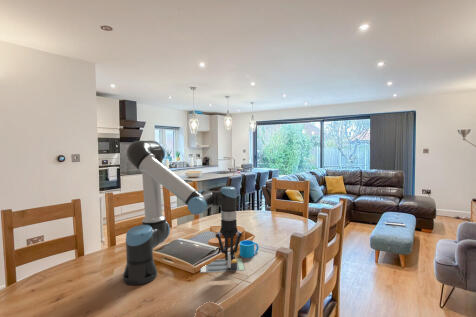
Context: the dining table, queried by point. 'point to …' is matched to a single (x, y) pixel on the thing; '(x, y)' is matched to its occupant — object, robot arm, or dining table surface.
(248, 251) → the mug
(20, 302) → the dining table surface
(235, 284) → the dining table surface
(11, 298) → the dining table surface
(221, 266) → the panel
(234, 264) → the breaker
